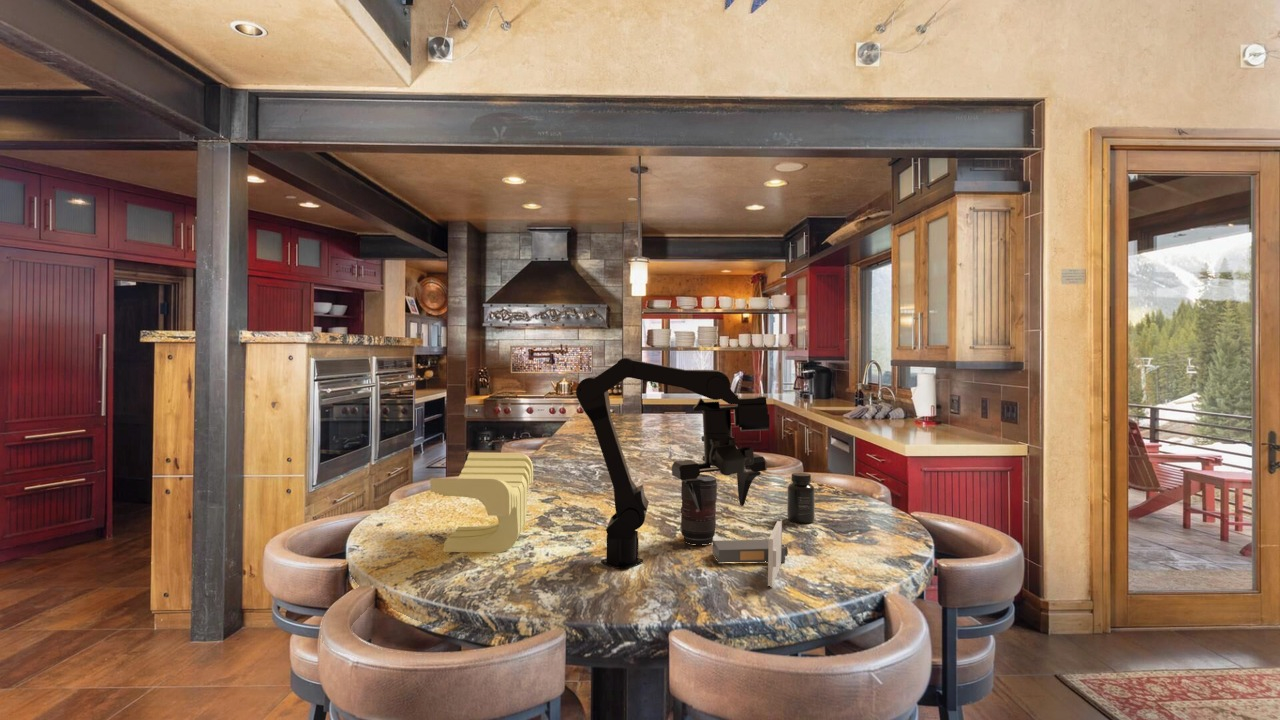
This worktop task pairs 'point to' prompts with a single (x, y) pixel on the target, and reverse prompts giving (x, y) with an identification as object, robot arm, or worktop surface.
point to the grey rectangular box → (744, 550)
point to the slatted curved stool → (490, 499)
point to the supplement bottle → (801, 499)
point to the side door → (774, 552)
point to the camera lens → (699, 512)
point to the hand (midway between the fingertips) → (721, 508)
